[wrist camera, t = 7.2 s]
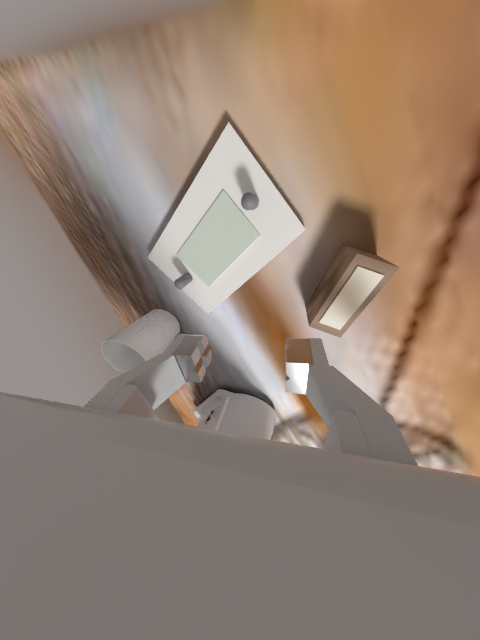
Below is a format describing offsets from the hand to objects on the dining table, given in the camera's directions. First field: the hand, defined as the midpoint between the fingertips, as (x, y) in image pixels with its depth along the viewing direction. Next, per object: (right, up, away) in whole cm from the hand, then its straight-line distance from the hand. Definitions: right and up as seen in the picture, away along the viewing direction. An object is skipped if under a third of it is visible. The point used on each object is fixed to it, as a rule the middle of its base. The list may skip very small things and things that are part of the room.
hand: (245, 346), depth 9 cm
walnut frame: (+12, +6, +14) cm, 19 cm away
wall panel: (-3, +12, +14) cm, 19 cm away
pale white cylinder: (-15, +1, +25) cm, 29 cm away
